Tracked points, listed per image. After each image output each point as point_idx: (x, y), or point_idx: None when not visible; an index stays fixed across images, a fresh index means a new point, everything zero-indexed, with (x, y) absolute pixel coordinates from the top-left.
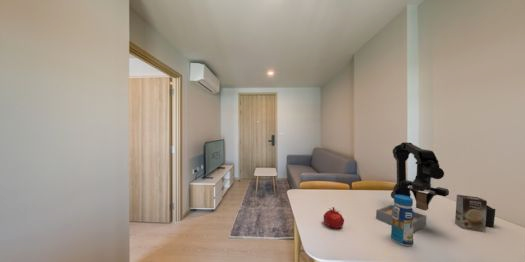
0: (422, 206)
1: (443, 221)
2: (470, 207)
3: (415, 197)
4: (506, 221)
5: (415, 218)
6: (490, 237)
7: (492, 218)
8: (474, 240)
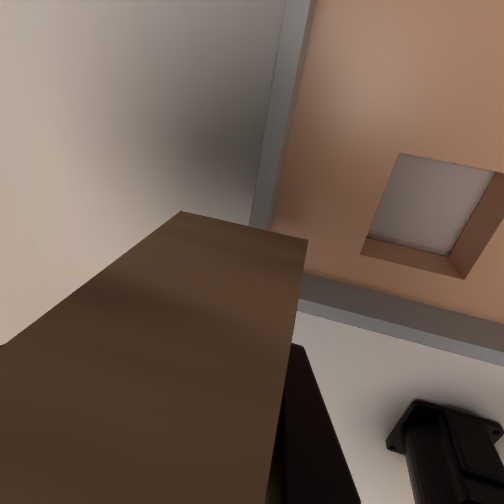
0: (198, 244)
1: None
2: None
3: (314, 439)
4: None
5: (322, 250)
6: None
7: None
8: (44, 225)
